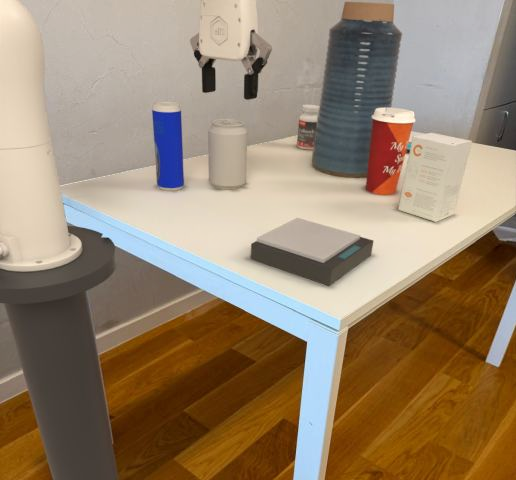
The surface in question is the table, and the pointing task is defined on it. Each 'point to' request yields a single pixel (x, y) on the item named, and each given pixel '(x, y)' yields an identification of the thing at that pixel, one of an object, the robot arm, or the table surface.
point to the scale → (311, 250)
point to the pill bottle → (307, 127)
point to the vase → (355, 86)
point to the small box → (434, 175)
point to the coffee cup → (388, 148)
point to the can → (227, 153)
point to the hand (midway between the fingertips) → (229, 95)
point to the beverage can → (168, 145)
